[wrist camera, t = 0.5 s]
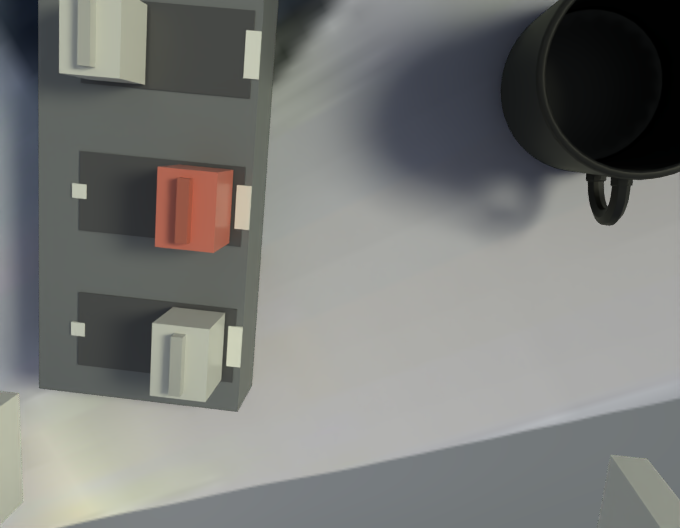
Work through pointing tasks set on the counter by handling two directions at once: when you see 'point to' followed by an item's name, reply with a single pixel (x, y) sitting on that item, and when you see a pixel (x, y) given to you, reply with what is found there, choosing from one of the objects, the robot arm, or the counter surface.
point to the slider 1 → (103, 40)
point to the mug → (599, 93)
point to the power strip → (150, 196)
